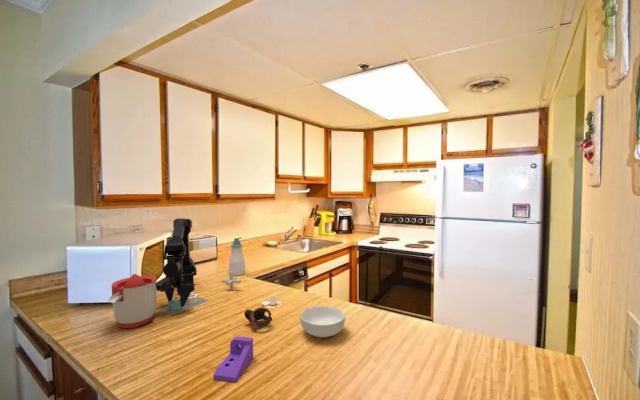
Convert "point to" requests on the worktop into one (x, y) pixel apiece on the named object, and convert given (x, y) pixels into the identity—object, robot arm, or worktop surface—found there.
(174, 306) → the teal gear
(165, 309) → the gear board
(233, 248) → the soap bottle
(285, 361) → the worktop surface
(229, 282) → the pipe connector
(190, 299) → the cream gear
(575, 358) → the worktop surface
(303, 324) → the cereal bowl
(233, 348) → the bracket
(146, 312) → the citrus juicer
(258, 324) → the pottery mug
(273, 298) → the teacup and saucer
